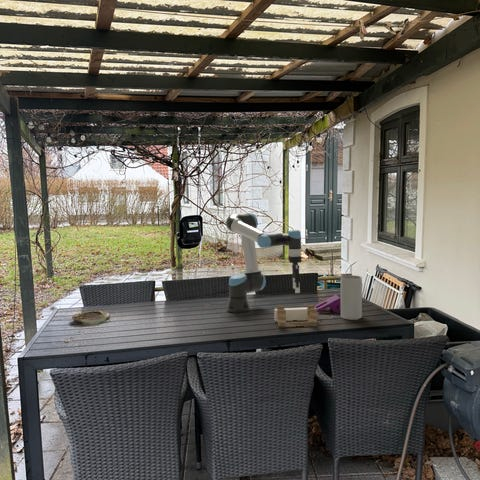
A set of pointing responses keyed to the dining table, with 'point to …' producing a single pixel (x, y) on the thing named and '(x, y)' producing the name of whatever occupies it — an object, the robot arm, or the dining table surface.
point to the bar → (294, 314)
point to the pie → (91, 317)
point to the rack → (310, 322)
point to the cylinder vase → (351, 297)
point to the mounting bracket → (330, 304)
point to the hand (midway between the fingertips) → (296, 290)
